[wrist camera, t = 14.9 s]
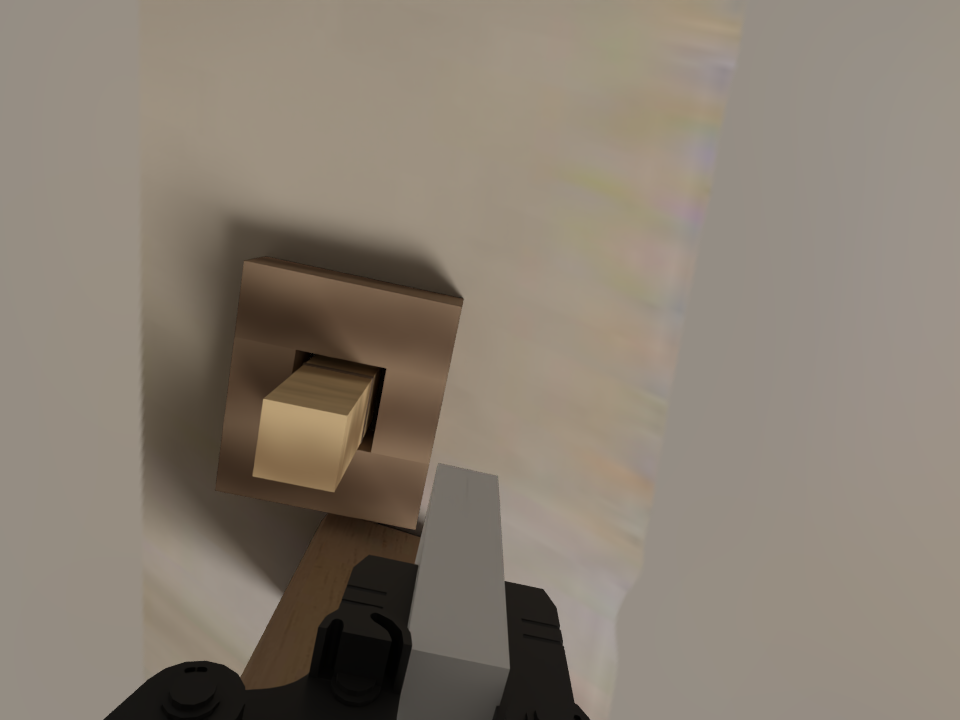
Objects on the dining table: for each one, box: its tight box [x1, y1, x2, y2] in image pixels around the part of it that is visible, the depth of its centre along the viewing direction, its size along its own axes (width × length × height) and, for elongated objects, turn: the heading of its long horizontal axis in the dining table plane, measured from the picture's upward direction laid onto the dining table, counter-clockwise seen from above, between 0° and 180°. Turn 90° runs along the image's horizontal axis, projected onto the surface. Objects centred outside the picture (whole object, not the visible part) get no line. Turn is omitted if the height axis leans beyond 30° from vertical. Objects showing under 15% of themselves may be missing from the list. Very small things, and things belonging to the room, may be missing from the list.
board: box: [215, 256, 464, 530], centre depth 43 cm, size 16×14×4 cm
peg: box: [253, 354, 382, 492], centre depth 39 cm, size 5×5×12 cm
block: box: [240, 513, 421, 690], centre depth 39 cm, size 10×10×20 cm
